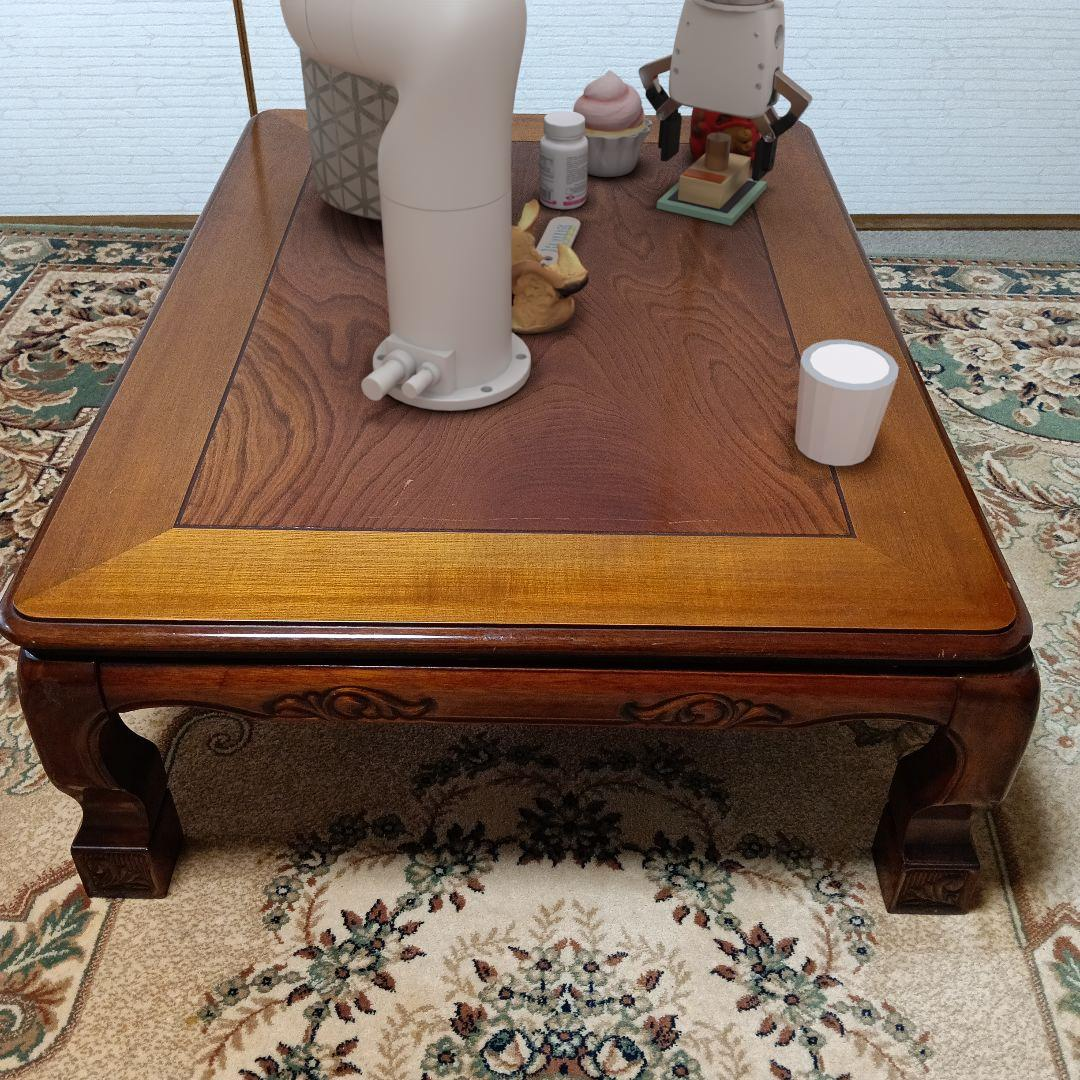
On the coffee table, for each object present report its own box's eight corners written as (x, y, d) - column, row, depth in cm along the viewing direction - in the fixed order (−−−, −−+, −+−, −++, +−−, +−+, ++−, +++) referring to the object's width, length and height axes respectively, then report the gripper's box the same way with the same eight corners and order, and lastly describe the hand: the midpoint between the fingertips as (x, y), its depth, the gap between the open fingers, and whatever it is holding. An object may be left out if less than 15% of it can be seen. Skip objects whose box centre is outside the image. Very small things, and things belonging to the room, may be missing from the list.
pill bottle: (587, 192, 123) (591, 110, 118) (584, 212, 120) (587, 128, 114) (541, 189, 124) (542, 107, 118) (536, 209, 120) (537, 125, 115)
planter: (422, 271, 110) (411, 68, 98) (276, 214, 118) (251, 21, 107) (547, 202, 121) (551, 13, 110) (406, 155, 130) (396, -25, 118)
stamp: (707, 171, 126) (713, 119, 122) (748, 180, 124) (755, 128, 121) (677, 199, 120) (682, 146, 117) (719, 209, 119) (725, 155, 115)
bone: (443, 321, 103) (439, 229, 97) (495, 273, 110) (494, 185, 104) (571, 354, 99) (575, 260, 94) (617, 302, 106) (623, 212, 100)
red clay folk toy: (700, 175, 127) (715, 27, 118) (675, 150, 132) (688, 6, 123) (766, 168, 129) (786, 21, 119) (739, 143, 134) (757, 1, 124)
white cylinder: (811, 477, 86) (828, 395, 82) (771, 425, 91) (784, 344, 87) (897, 462, 88) (917, 381, 83) (852, 411, 93) (870, 332, 88)
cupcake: (643, 148, 132) (650, 55, 126) (654, 183, 125) (662, 86, 119) (558, 149, 132) (561, 55, 126) (565, 184, 125) (568, 87, 118)
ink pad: (731, 226, 118) (732, 217, 117) (656, 208, 121) (656, 200, 120) (766, 189, 125) (767, 180, 124) (694, 173, 127) (695, 165, 127)
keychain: (561, 263, 110) (528, 260, 110) (560, 269, 110) (528, 266, 110) (583, 215, 117) (553, 212, 118) (583, 221, 118) (553, 217, 118)
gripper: (840, -12, 109) (809, 171, 120) (664, -39, 115) (649, 138, 126) (814, 8, 104) (784, 198, 115) (631, -22, 110) (619, 161, 121)
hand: (713, 166), depth 120 cm, fingers open, 9 cm apart
